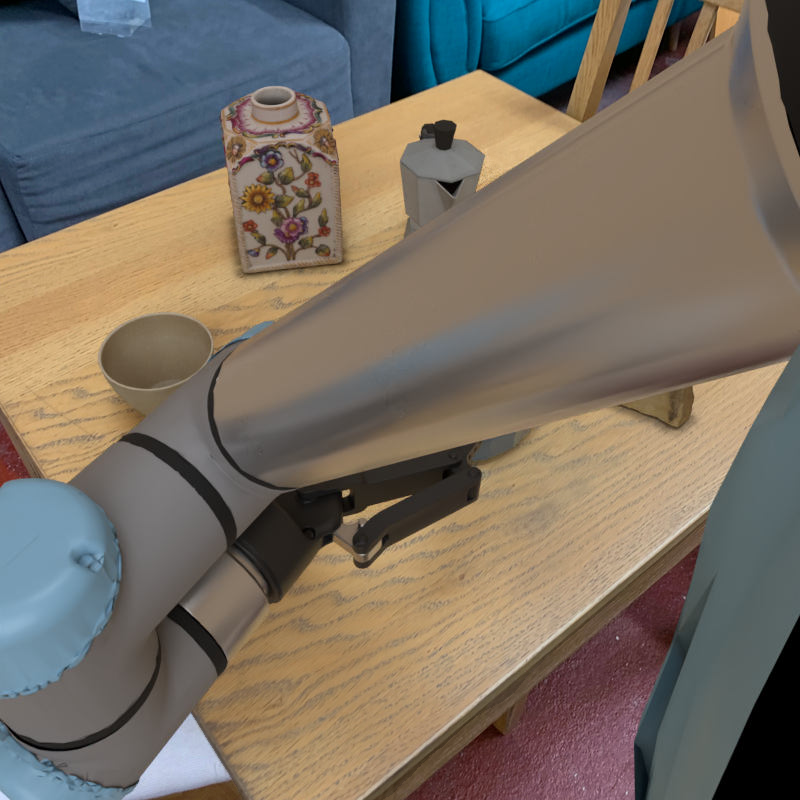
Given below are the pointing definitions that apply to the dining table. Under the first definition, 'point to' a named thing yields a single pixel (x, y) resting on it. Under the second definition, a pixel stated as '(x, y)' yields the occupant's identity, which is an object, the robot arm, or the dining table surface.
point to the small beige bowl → (154, 357)
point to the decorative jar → (283, 180)
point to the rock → (667, 406)
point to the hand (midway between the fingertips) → (409, 359)
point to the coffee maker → (437, 173)
